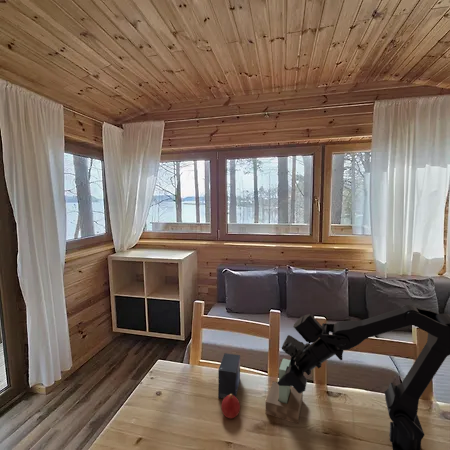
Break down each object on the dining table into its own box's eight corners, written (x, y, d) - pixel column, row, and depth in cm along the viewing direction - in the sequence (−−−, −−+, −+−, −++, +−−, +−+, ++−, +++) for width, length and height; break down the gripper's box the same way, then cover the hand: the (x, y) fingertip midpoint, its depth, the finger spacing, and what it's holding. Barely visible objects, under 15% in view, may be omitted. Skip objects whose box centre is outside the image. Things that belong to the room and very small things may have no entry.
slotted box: (302, 403, 89) (302, 389, 89) (298, 426, 80) (298, 411, 80) (272, 394, 93) (273, 381, 93) (265, 416, 84) (265, 401, 84)
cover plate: (290, 391, 88) (290, 360, 87) (286, 404, 83) (287, 370, 82) (282, 389, 89) (282, 358, 88) (278, 401, 84) (279, 368, 83)
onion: (217, 417, 84) (217, 393, 83) (231, 407, 88) (230, 384, 87) (230, 428, 80) (230, 403, 79) (243, 418, 83) (243, 394, 83)
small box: (236, 401, 90) (236, 372, 89) (217, 398, 92) (217, 370, 91) (240, 380, 101) (240, 354, 100) (224, 378, 102) (223, 352, 101)
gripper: (302, 318, 91) (270, 343, 96) (293, 346, 74) (254, 374, 79) (326, 345, 88) (292, 368, 94) (322, 380, 71) (281, 406, 77)
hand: (280, 377), depth 86 cm, fingers closed on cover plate, 6 cm apart
